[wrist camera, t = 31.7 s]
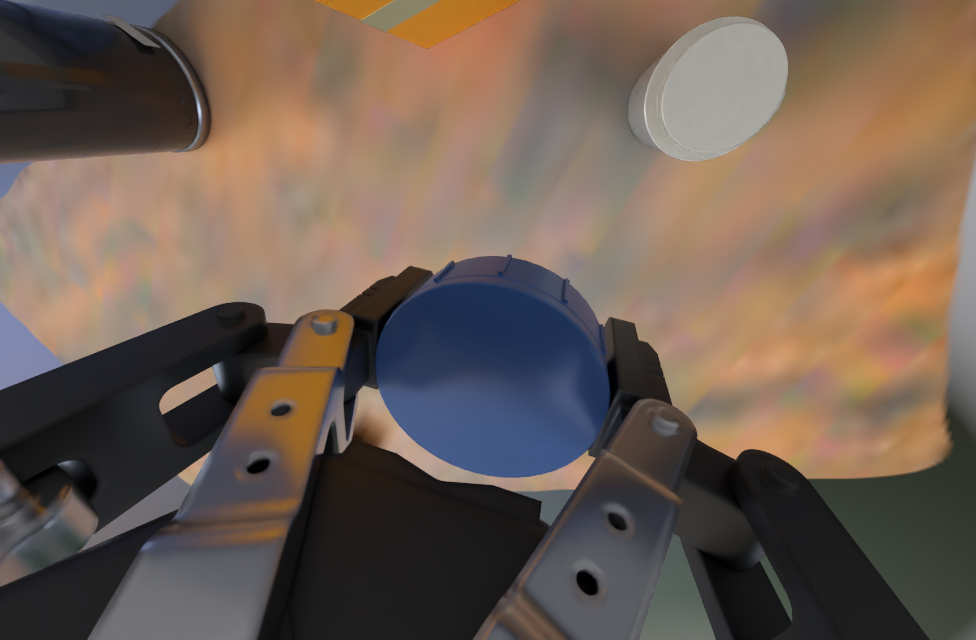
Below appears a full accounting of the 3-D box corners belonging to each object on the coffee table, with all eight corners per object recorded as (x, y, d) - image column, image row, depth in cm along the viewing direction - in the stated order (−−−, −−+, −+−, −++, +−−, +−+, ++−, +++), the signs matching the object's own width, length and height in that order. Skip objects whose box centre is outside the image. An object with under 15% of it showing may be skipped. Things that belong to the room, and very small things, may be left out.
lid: (550, 454, 12) (545, 507, 10) (389, 384, 12) (358, 424, 10) (648, 310, 9) (665, 351, 7) (432, 219, 9) (399, 238, 7)
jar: (616, 141, 25) (630, 153, 16) (644, 46, 22) (680, -4, 13) (696, 155, 24) (758, 175, 15) (735, 58, 21) (839, 13, 12)
